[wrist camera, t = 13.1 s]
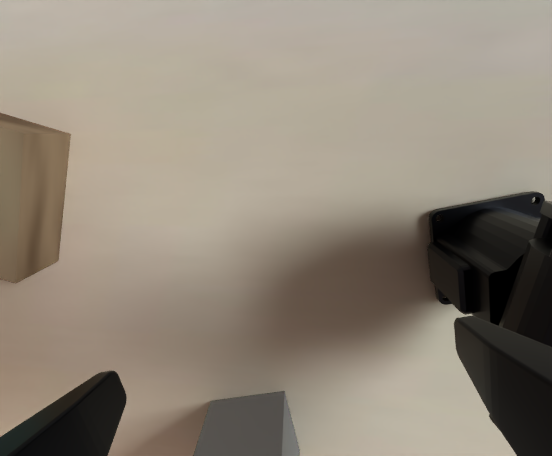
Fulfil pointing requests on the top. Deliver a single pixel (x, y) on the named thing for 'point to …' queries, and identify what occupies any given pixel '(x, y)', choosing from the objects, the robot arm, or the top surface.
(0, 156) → the taupe square slab
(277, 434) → the grey rectangular pillar
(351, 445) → the top surface
